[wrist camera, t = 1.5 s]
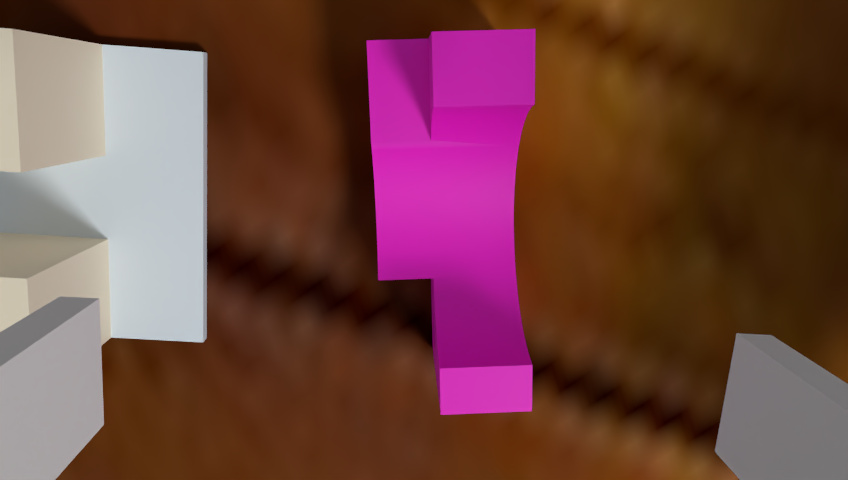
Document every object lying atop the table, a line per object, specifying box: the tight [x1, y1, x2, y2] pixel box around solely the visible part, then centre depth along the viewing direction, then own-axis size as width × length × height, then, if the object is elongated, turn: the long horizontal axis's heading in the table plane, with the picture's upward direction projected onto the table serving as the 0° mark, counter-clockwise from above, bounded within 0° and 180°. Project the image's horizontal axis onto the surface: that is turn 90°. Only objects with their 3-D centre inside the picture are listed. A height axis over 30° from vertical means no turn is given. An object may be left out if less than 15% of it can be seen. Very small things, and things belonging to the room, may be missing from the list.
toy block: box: [367, 29, 535, 415], centre depth 29 cm, size 15×6×8 cm, turn 2°
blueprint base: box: [0, 28, 207, 346], centre depth 28 cm, size 14×14×8 cm
